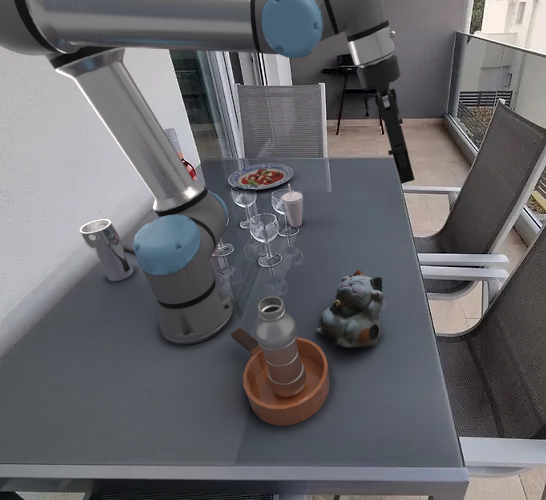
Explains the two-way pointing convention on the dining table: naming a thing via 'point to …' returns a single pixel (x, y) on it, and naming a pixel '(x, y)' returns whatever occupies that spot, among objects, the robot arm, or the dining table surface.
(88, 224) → the silver metal cup
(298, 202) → the smoothie
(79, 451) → the dining table surface
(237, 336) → the pan handle
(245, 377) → the pan
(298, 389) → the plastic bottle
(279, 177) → the ceramic plate
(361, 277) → the lucky cat figurine
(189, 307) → the robot arm
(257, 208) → the dining table surface
